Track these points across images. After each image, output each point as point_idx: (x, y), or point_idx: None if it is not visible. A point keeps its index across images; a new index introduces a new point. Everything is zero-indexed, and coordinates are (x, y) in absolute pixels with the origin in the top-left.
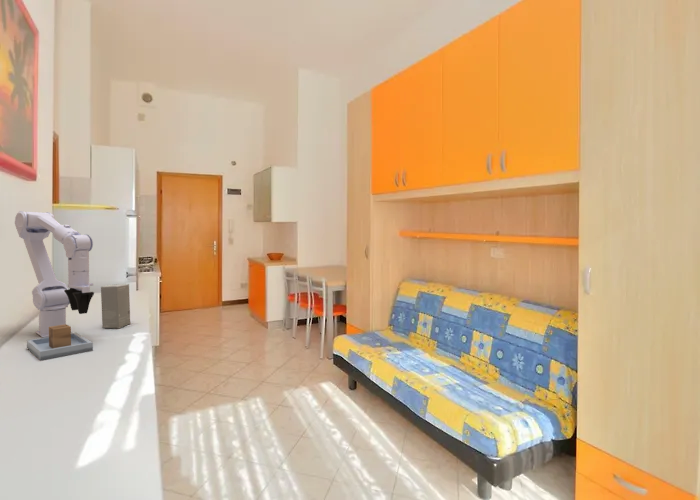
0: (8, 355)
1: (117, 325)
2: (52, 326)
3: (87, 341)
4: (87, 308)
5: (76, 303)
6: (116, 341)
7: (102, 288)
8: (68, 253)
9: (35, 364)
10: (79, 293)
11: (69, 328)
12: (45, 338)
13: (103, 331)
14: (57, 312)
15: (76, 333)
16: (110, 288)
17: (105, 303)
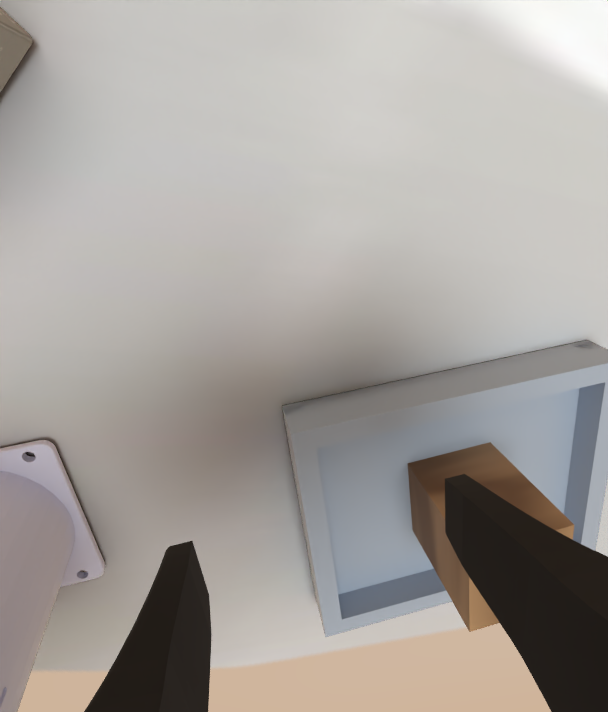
0: (391, 633)
1: (20, 46)
2: (475, 615)
3: (583, 382)
4: (508, 505)
5: (191, 641)
6: (496, 179)
7: None
8: None
9: (599, 538)
10: None
11: (567, 523)
12: (334, 571)
13: (85, 204)
14: (2, 672)
15: (321, 432)
16: None
17: None
